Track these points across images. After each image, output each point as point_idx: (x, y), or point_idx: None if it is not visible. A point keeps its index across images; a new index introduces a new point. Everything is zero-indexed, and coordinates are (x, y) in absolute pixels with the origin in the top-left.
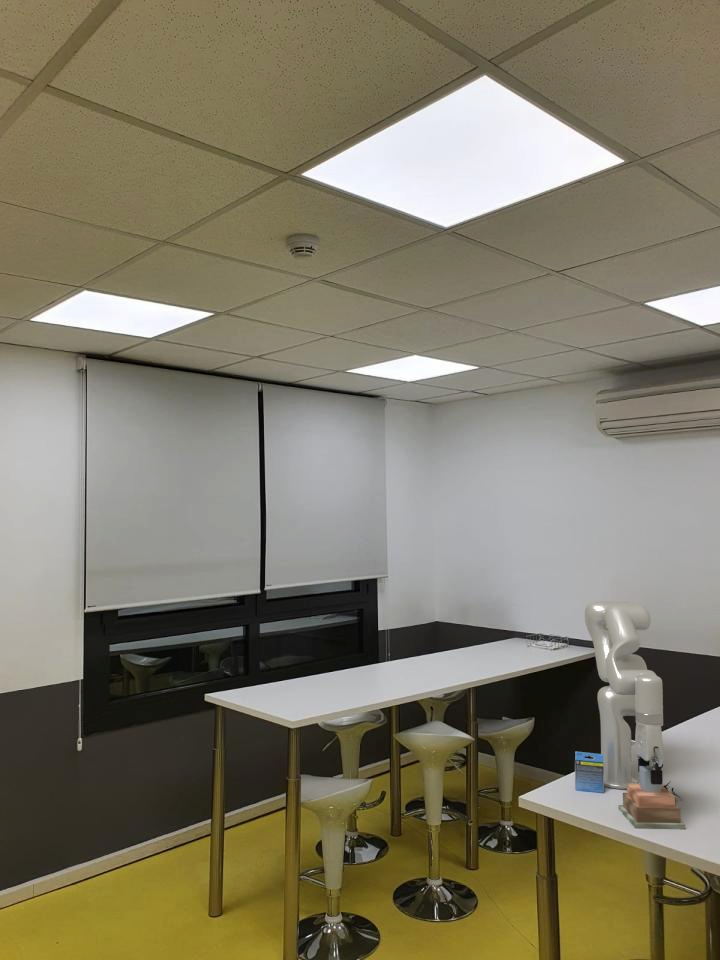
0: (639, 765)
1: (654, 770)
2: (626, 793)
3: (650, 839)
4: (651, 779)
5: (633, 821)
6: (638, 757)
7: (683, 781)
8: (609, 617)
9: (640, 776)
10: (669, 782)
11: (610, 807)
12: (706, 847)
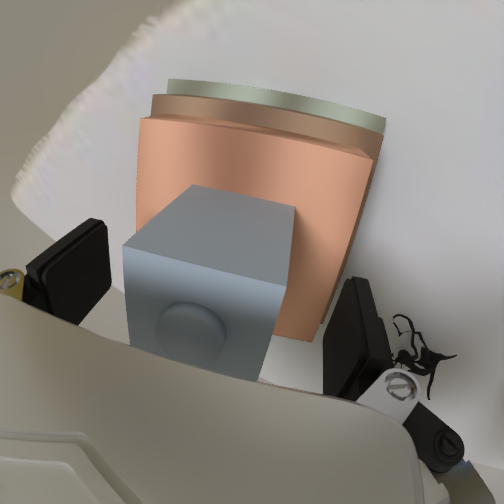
0: (354, 315)
1: (17, 280)
2: (367, 148)
3: (91, 97)
4: (75, 230)
5: (192, 82)
6: (403, 376)
7: (460, 416)
8: None
9: (267, 233)
10: (428, 393)
11: (406, 96)
12: (59, 233)
